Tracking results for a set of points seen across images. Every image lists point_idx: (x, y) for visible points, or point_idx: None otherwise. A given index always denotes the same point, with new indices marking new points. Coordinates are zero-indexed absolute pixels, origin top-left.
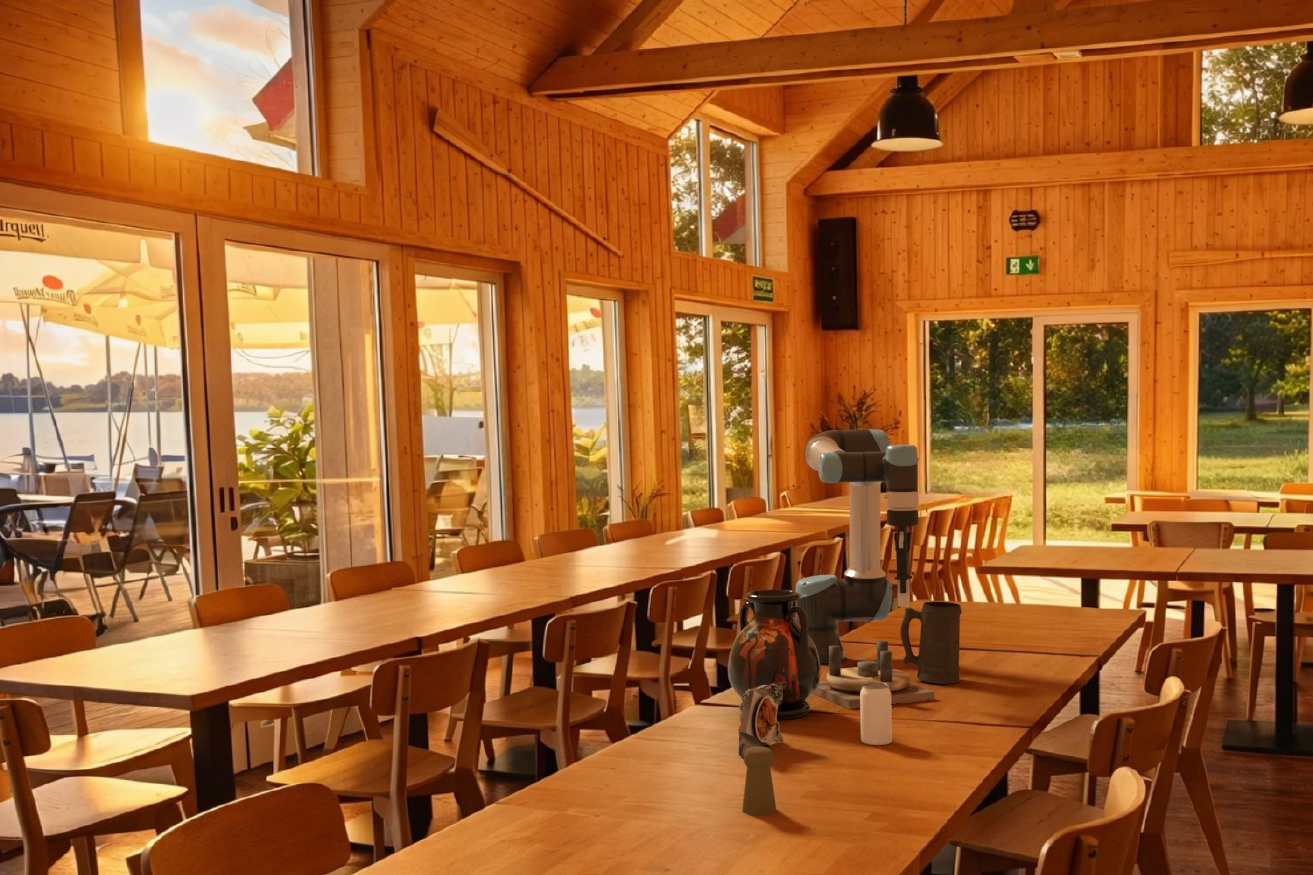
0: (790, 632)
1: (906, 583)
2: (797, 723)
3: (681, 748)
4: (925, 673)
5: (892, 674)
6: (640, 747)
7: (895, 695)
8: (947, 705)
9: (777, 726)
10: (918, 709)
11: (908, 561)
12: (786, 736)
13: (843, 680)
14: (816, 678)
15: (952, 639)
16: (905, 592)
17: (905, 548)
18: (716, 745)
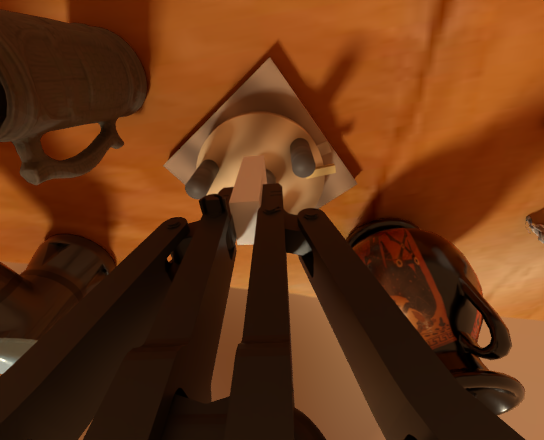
0: (475, 317)
1: (261, 201)
2: (433, 218)
3: (523, 283)
4: (136, 98)
5: (244, 146)
6: (509, 306)
7: (314, 124)
8: (310, 20)
9: (538, 231)
10: (348, 75)
11: (205, 269)
12: (498, 217)
13: (308, 207)
14: (429, 234)
15: (59, 30)
16: (280, 186)
17: (474, 406)
18: (520, 264)
